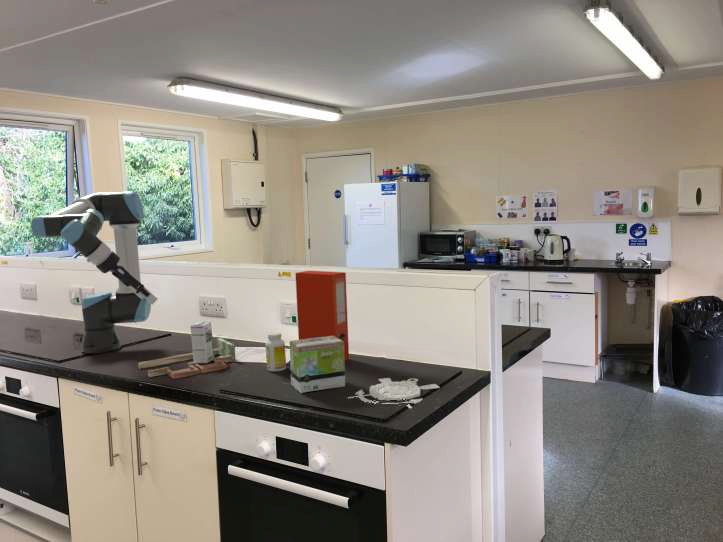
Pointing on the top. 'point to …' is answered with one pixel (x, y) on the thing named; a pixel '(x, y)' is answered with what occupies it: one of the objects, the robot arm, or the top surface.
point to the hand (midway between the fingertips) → (149, 299)
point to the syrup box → (202, 342)
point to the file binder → (322, 306)
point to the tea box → (317, 363)
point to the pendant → (395, 391)
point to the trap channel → (193, 368)
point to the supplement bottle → (275, 352)
